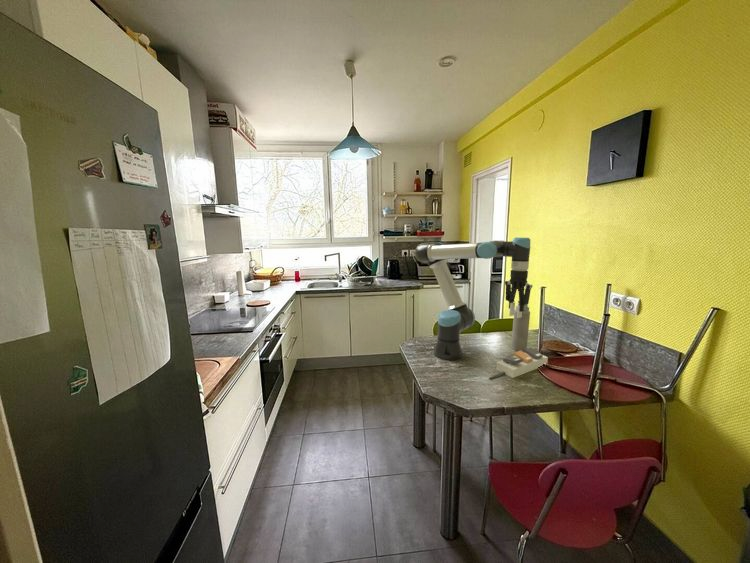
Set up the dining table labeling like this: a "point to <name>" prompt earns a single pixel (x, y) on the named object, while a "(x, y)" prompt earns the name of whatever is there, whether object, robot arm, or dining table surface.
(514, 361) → the rocker
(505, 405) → the dining table surface
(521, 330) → the thermos bottle
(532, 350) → the rocker
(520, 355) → the orange flat block
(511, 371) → the power strip
